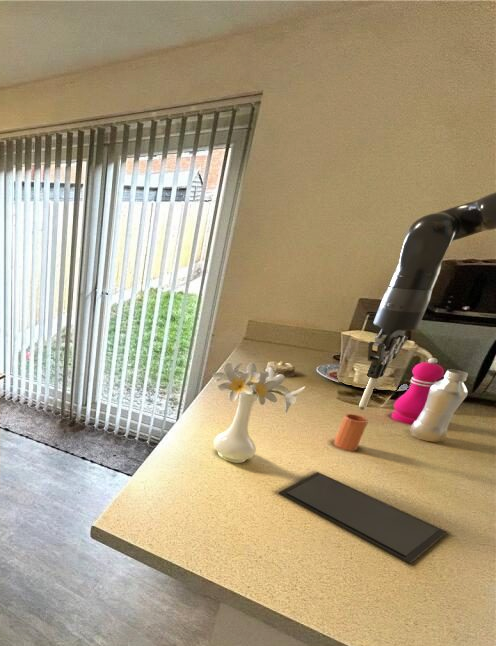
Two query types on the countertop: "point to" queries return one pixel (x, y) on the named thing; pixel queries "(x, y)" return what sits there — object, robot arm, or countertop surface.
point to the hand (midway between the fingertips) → (374, 376)
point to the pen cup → (350, 432)
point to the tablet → (365, 516)
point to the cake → (281, 368)
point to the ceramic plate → (332, 372)
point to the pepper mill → (417, 391)
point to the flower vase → (247, 407)
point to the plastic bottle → (440, 406)
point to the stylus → (367, 393)
